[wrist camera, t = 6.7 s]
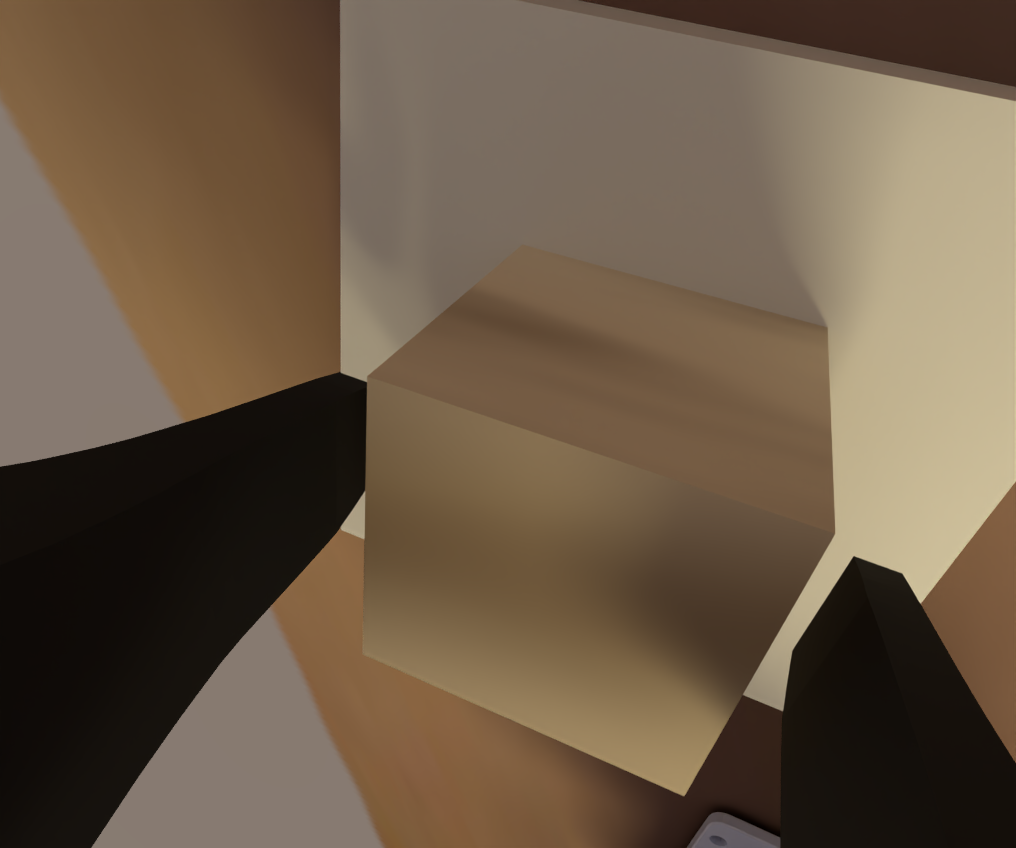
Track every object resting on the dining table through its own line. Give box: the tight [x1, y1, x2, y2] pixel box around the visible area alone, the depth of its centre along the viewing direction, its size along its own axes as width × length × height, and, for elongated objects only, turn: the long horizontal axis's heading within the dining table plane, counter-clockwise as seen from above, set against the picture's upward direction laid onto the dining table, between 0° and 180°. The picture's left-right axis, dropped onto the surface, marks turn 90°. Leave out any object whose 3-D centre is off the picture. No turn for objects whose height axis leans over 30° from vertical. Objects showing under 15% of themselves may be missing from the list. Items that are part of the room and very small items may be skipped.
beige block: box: [340, 0, 1016, 711], centre depth 14 cm, size 12×12×3 cm
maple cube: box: [363, 245, 835, 796], centre depth 10 cm, size 5×5×5 cm
